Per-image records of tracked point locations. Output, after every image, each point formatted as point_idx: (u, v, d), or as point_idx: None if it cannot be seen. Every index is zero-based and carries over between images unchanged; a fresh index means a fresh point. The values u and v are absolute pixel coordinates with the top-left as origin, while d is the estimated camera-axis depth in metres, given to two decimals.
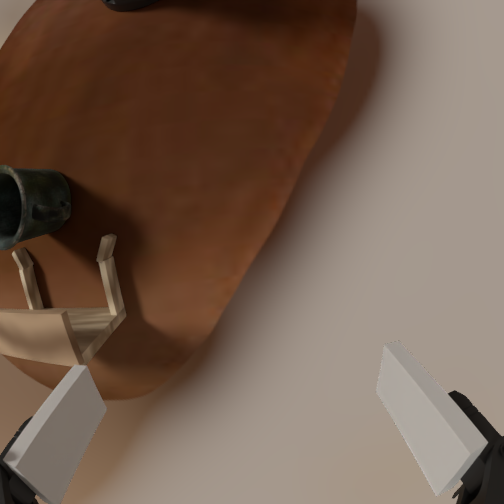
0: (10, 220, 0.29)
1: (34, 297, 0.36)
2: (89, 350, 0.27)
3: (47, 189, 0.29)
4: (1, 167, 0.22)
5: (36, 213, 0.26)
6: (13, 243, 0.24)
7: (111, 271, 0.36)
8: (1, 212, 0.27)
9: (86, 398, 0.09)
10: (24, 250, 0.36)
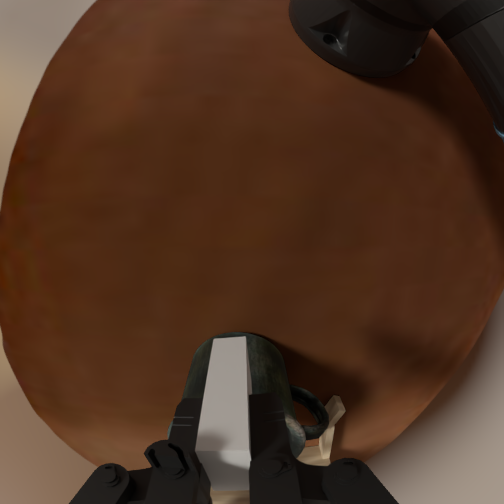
0: None
1: None
2: None
3: (289, 390, 0.23)
4: None
5: None
6: None
7: None
8: None
9: None
10: None
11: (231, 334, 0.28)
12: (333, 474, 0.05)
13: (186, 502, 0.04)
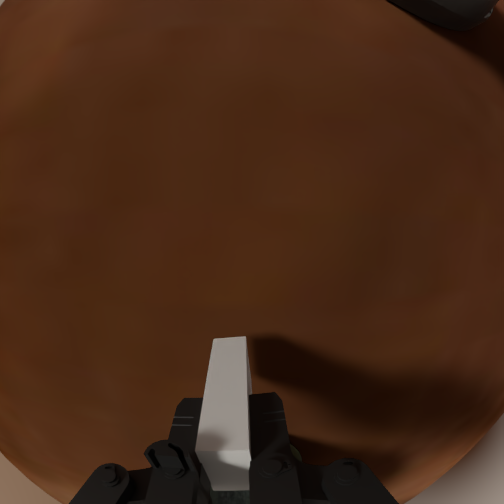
0: None
1: None
2: None
3: None
4: None
5: None
6: None
7: None
8: None
9: None
10: None
11: None
12: (333, 474, 0.05)
13: (186, 502, 0.04)
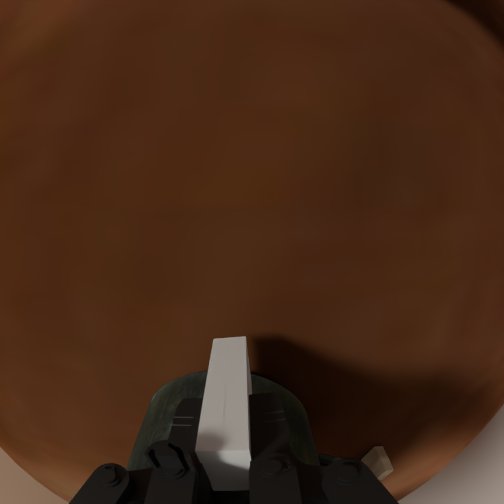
0: None
1: None
2: None
3: None
4: None
5: None
6: None
7: None
8: None
9: None
10: None
11: None
12: (333, 474, 0.05)
13: (186, 502, 0.04)
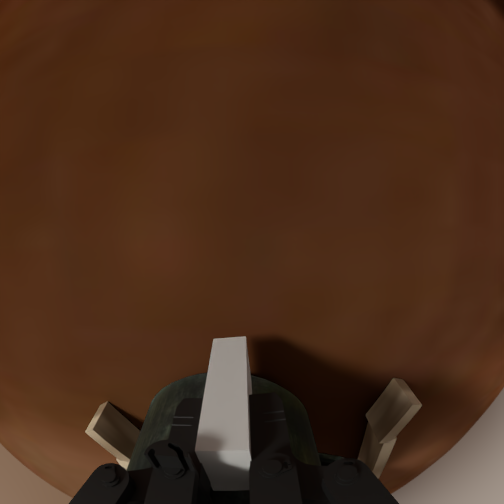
0: None
1: None
2: None
3: None
4: None
5: None
6: None
7: None
8: None
9: None
10: (111, 411, 0.15)
11: None
12: (333, 474, 0.05)
13: (186, 502, 0.04)
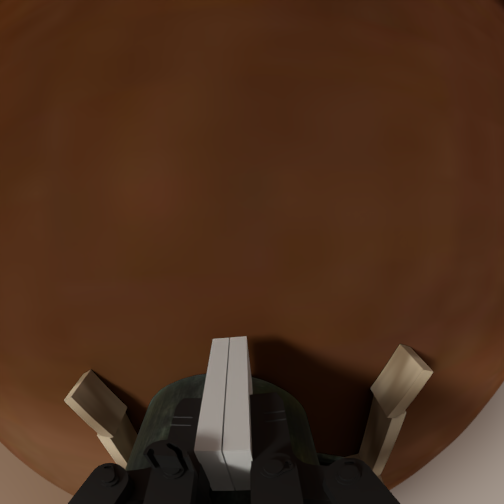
0: None
1: None
2: None
3: None
4: None
5: None
6: None
7: None
8: None
9: None
10: (94, 379, 0.14)
11: (203, 379, 0.13)
12: (334, 474, 0.05)
13: (185, 502, 0.04)
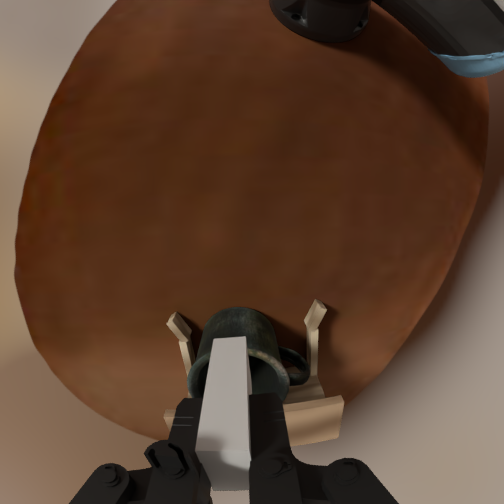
0: None
1: None
2: None
3: (277, 347, 0.33)
4: None
5: (289, 382, 0.30)
6: None
7: None
8: (203, 373, 0.32)
9: None
10: (178, 316, 0.38)
11: (231, 308, 0.37)
12: (333, 474, 0.05)
13: (186, 502, 0.04)
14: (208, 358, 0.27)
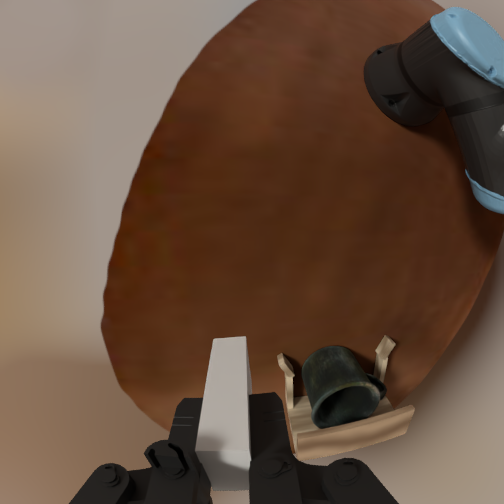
0: None
1: None
2: None
3: None
4: (356, 384, 0.34)
5: None
6: None
7: None
8: None
9: None
10: (284, 356, 0.45)
11: (328, 348, 0.45)
12: (333, 474, 0.05)
13: (186, 502, 0.04)
14: (333, 392, 0.34)
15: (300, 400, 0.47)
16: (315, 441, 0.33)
